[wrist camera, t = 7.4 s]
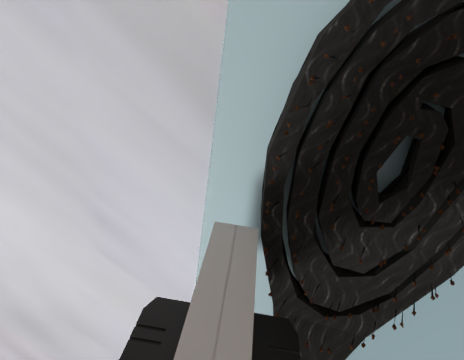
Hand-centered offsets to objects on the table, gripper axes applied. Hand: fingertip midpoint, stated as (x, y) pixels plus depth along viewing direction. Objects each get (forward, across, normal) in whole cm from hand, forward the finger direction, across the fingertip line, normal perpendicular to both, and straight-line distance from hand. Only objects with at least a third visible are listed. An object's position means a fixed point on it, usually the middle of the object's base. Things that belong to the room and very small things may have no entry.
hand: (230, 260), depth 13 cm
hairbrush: (+2, +4, -1) cm, 4 cm away
